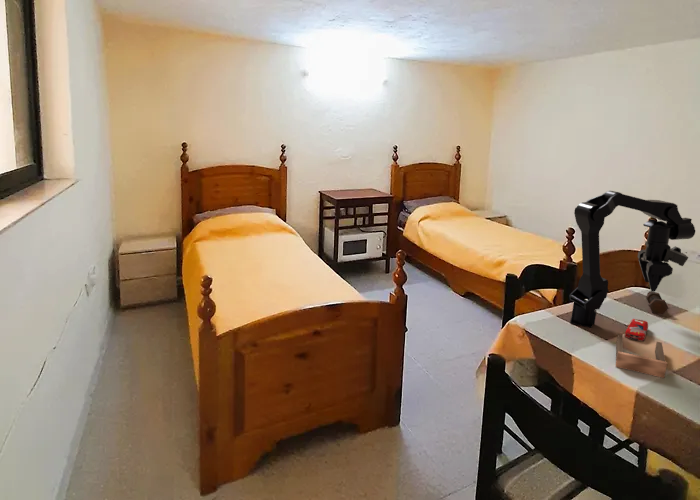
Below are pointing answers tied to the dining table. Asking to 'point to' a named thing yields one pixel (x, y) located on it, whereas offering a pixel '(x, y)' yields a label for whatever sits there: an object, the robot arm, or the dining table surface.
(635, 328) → the race car
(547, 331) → the dining table surface
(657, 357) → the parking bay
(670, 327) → the dining table surface
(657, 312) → the bolt
